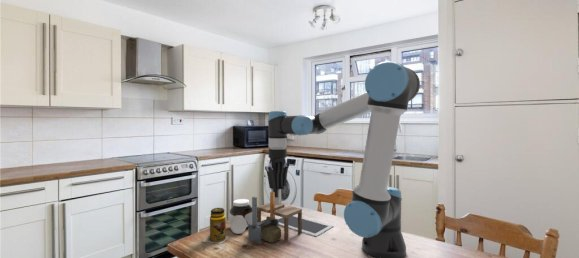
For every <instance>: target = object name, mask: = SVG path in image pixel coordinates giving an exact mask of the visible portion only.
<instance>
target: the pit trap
mask: <svg viewBox="0 0 579 258" xmlns="http://www.w3.org/2000/svg"><path fill="white" fill-rule="evenodd" d="M275 219H279V226H281V227H284V218H283V217H280V216H277V218H276V217H275ZM333 228H334V225H331V224H328V223H324V222H321V221H317V220H315V219H314V220H313V219H309V218H307V217H303V216H302V234H306V235H310V236H311V237H315V238H318V237H319V236H321V235H322V234H323V233H326V232H328V231H329V230H331V229H333ZM288 229H290V230H293V231H297V232H298V215H297V214H296V215H293V216H291V217H289V218H288Z"/></svg>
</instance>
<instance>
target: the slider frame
mask: <svg viewBox="0 0 579 258" xmlns="http://www.w3.org/2000/svg"><path fill="white" fill-rule="evenodd" d="M269 203H270V213H269V216H268V215H267V216H265V217H266V219H264V220H261V222H258V223H257V207H258V197H256V196H252V197H251V207H252V224H251V223H250V224H248V230H247V232H248V233H247V234H248V235H247V236H248V241H250V242H253V243H255V244H258V245H261V244H262V239H261V227H262V226H265V225H267V224H271V225H274V226H276V227H279V228H280V225H279V219H276V215H273V212H274V211H275V192H273V191H270V192H269Z"/></svg>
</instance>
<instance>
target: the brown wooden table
mask: <svg viewBox="0 0 579 258" xmlns="http://www.w3.org/2000/svg"><path fill="white" fill-rule="evenodd" d="M262 212H263V213H267V214H270V202H268V203H265V204H262V205H259V206H257V223H258V222H261V221H262ZM273 215H275V217H276V216H277V217H283V218H284V226H283V238H284V240H283V241H284V242H288V241H289V228H288V218H289V217H291V216H293V215H296V216H298V231H297V234H299V235H301V234H303V232H302V217H303V209H302V208H300V207H295V206H291V205H288V206H285V204H284V203H281V205H276V204H275V211H274V212H273Z"/></svg>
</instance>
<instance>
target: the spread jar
mask: <svg viewBox="0 0 579 258" xmlns="http://www.w3.org/2000/svg"><path fill="white" fill-rule="evenodd" d="M228 215H229V218H228V219H229V220H228V221H229V224H230V230H231V231H232V232H233V233H234V234H237V235H238V234H242V233H244V232H245V231H246V230H247V229H248V224H250V223H251V224H252V205H251V204H250V200H249V199H248V198H238V199H235V200H233V205H232V206H231V208H230V209H229V213H228Z"/></svg>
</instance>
